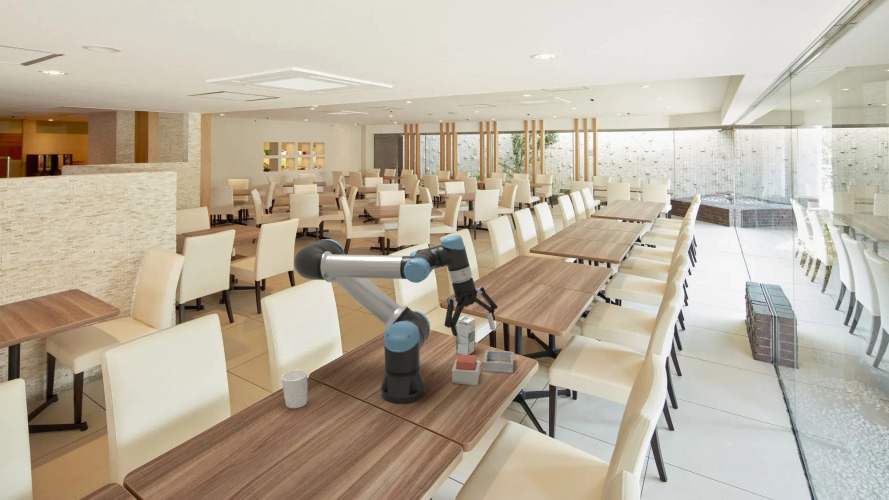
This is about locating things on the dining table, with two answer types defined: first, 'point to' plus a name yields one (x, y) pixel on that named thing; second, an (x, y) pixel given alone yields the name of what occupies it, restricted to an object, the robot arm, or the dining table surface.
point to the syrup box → (466, 335)
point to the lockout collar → (498, 365)
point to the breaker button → (466, 362)
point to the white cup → (295, 388)
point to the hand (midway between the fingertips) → (476, 336)
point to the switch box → (466, 375)
